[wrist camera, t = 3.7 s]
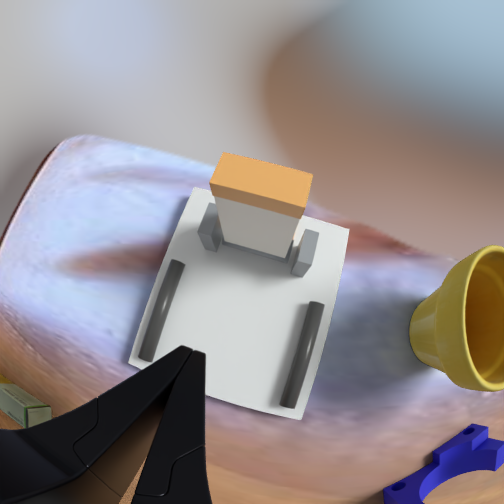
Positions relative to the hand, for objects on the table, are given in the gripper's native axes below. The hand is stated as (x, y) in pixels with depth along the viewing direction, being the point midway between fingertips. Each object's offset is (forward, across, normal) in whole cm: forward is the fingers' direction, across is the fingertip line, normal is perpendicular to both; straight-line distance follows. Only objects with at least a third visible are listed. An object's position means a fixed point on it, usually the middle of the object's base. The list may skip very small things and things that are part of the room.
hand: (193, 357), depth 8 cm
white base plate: (+12, 0, +6) cm, 14 cm away
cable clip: (+4, -24, +16) cm, 29 cm away
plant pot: (+14, -18, +5) cm, 23 cm away
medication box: (-1, +20, +21) cm, 29 cm away
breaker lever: (+13, 0, +2) cm, 13 cm away
